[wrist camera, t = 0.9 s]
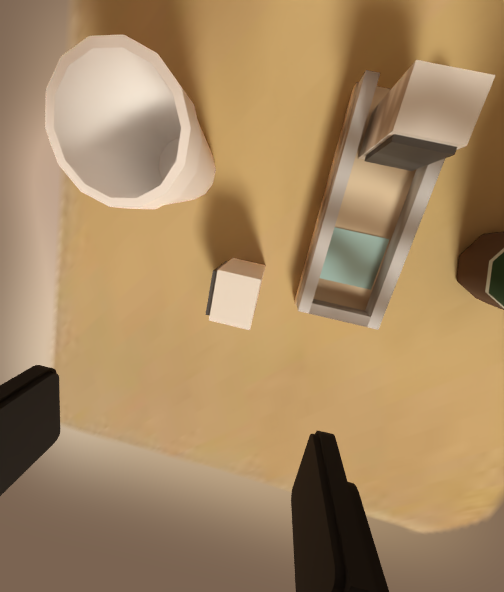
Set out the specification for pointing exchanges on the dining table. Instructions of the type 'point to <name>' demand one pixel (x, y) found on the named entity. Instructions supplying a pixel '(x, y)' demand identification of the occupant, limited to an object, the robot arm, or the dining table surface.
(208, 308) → the white foam block
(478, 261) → the beer bottle
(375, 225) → the finger rail
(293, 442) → the dining table surface
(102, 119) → the foam cup
